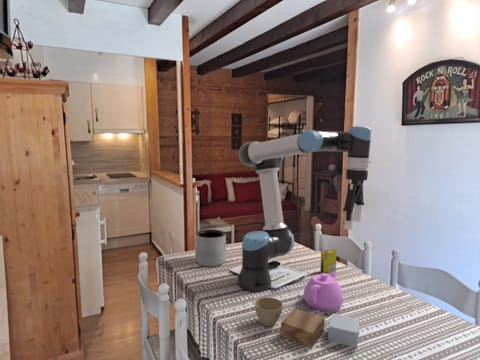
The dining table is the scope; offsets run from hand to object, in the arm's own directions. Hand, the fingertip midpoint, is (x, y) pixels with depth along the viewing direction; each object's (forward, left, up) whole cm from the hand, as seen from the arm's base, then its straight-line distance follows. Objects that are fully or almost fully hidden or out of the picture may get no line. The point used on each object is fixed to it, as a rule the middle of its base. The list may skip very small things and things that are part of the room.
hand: (352, 225), depth 126 cm
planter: (-74, +8, -34) cm, 82 cm away
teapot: (-10, 0, -34) cm, 35 cm away
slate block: (+4, -19, -34) cm, 39 cm away
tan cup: (-21, -26, -34) cm, 47 cm away
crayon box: (-19, +33, -34) cm, 51 cm away
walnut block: (-8, -25, -34) cm, 43 cm away
